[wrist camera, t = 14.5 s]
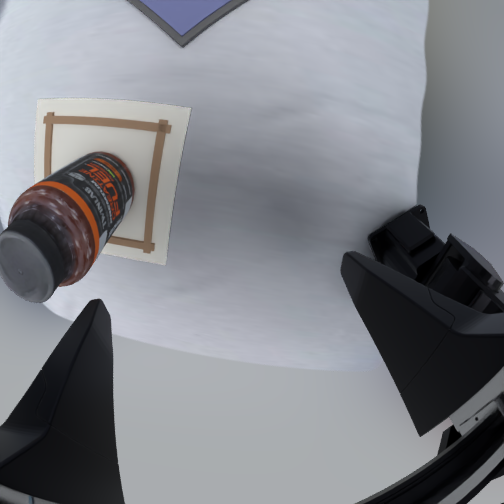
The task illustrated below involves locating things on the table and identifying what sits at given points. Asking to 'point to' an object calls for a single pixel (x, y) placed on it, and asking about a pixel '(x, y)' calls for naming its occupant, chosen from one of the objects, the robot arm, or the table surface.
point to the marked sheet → (128, 151)
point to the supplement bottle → (64, 225)
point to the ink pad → (185, 15)
